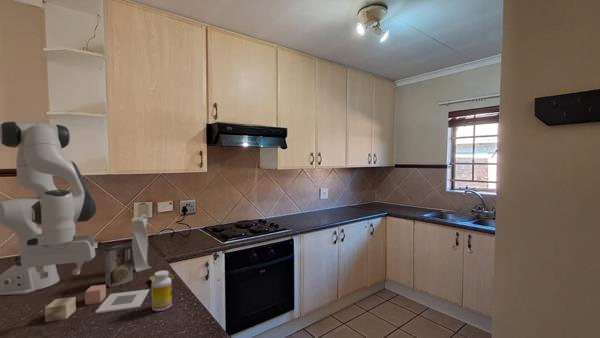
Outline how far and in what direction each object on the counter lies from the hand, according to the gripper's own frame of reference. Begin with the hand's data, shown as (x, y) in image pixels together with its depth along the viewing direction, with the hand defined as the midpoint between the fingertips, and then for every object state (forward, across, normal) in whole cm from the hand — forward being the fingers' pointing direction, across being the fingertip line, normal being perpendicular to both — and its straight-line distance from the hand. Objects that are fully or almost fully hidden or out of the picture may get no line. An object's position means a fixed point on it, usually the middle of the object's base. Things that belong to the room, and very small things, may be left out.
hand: (60, 276), depth 95 cm
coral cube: (+14, -7, -10) cm, 18 cm away
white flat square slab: (+14, -18, -6) cm, 23 cm away
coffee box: (+14, -10, -26) cm, 31 cm away
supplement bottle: (+15, -33, +4) cm, 36 cm away
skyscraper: (+14, -15, -40) cm, 45 cm away
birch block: (+14, 0, 0) cm, 14 cm away
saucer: (+15, -28, -22) cm, 38 cm away
